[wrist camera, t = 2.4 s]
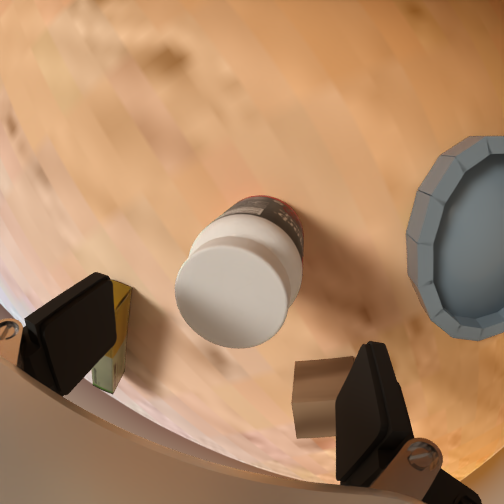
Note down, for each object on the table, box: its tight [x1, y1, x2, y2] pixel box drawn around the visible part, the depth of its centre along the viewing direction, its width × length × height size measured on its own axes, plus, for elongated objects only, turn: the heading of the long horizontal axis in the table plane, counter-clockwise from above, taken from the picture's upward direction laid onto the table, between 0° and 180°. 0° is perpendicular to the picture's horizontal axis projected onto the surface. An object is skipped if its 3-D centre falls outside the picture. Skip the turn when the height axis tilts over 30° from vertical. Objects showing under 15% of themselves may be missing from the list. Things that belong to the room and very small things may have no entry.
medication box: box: [92, 279, 132, 394], centre depth 25 cm, size 12×3×4 cm, turn 161°
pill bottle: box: [175, 195, 304, 349], centre depth 16 cm, size 6×6×10 cm
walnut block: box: [291, 356, 354, 439], centre depth 22 cm, size 5×5×5 cm
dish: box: [406, 136, 504, 341], centre depth 16 cm, size 16×16×2 cm
